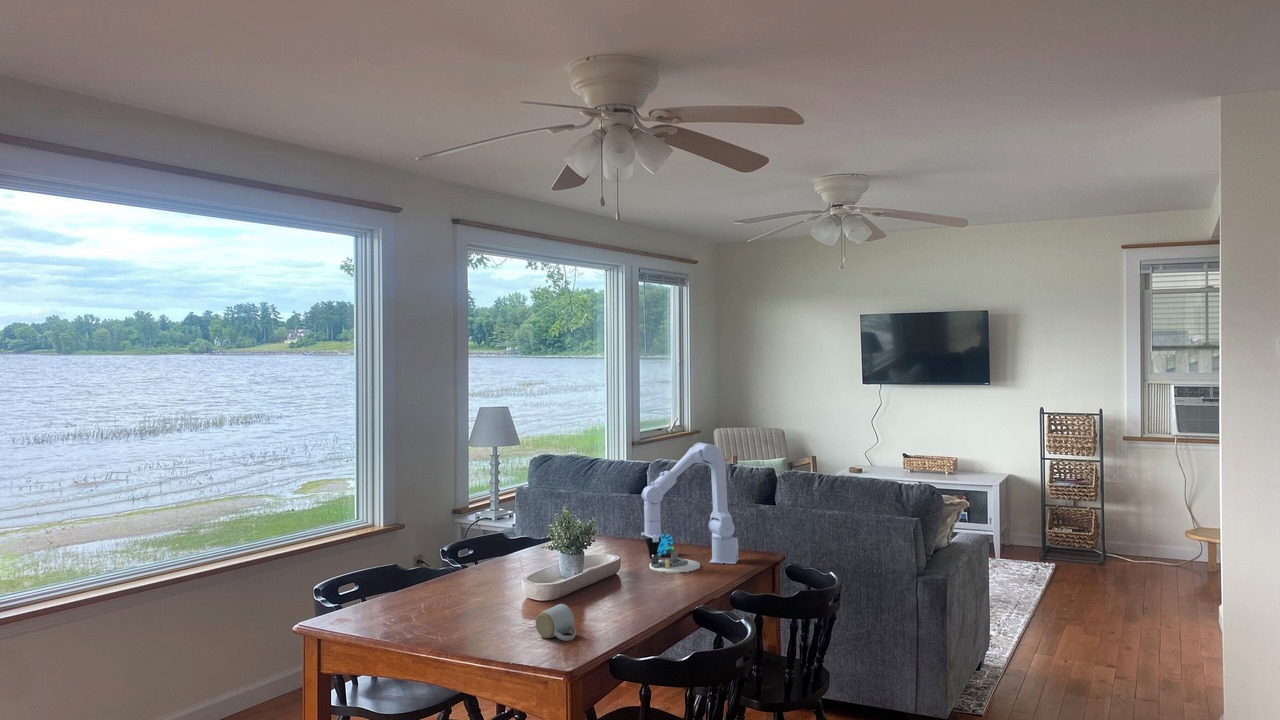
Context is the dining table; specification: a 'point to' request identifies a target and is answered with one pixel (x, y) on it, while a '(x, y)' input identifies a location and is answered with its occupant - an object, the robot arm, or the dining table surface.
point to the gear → (665, 545)
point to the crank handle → (662, 563)
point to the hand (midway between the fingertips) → (653, 558)
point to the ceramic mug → (556, 623)
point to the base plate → (676, 569)
